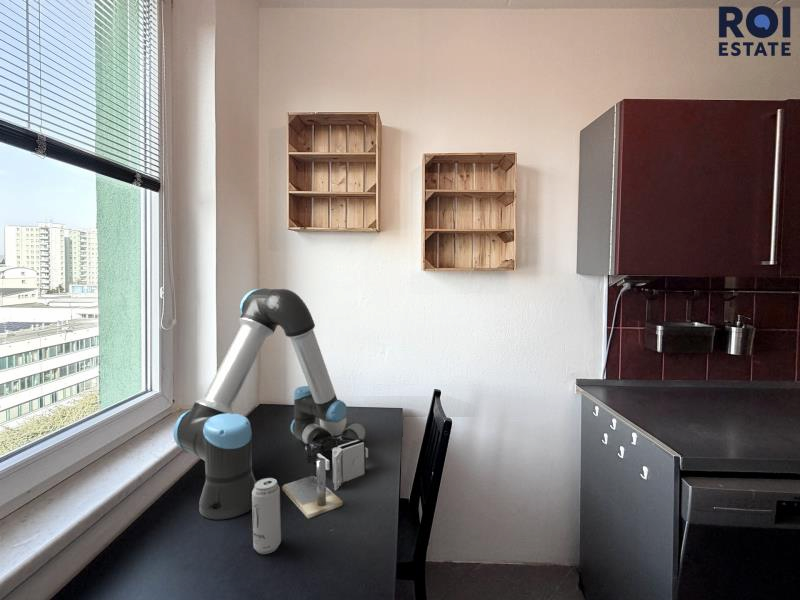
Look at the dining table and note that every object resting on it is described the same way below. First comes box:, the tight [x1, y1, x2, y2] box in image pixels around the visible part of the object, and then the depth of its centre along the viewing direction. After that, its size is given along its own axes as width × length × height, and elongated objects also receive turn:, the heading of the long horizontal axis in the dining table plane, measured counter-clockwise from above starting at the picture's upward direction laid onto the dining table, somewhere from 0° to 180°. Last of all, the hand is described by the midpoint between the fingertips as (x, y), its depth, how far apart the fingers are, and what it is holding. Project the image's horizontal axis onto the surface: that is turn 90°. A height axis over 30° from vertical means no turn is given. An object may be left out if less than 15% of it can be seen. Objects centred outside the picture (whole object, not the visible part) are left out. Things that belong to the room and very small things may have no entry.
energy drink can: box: [251, 477, 282, 555], centre depth 92 cm, size 6×6×15 cm
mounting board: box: [281, 475, 344, 519], centre depth 114 cm, size 10×18×1 cm, turn 37°
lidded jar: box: [319, 412, 348, 437], centre depth 161 cm, size 11×11×9 cm
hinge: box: [331, 439, 367, 491], centre depth 124 cm, size 14×5×10 cm, turn 143°
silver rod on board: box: [283, 458, 333, 506], centre depth 114 cm, size 9×17×12 cm, turn 37°
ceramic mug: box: [336, 423, 366, 446], centre depth 149 cm, size 11×8×8 cm
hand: (348, 459), depth 124 cm, fingers open, 13 cm apart
